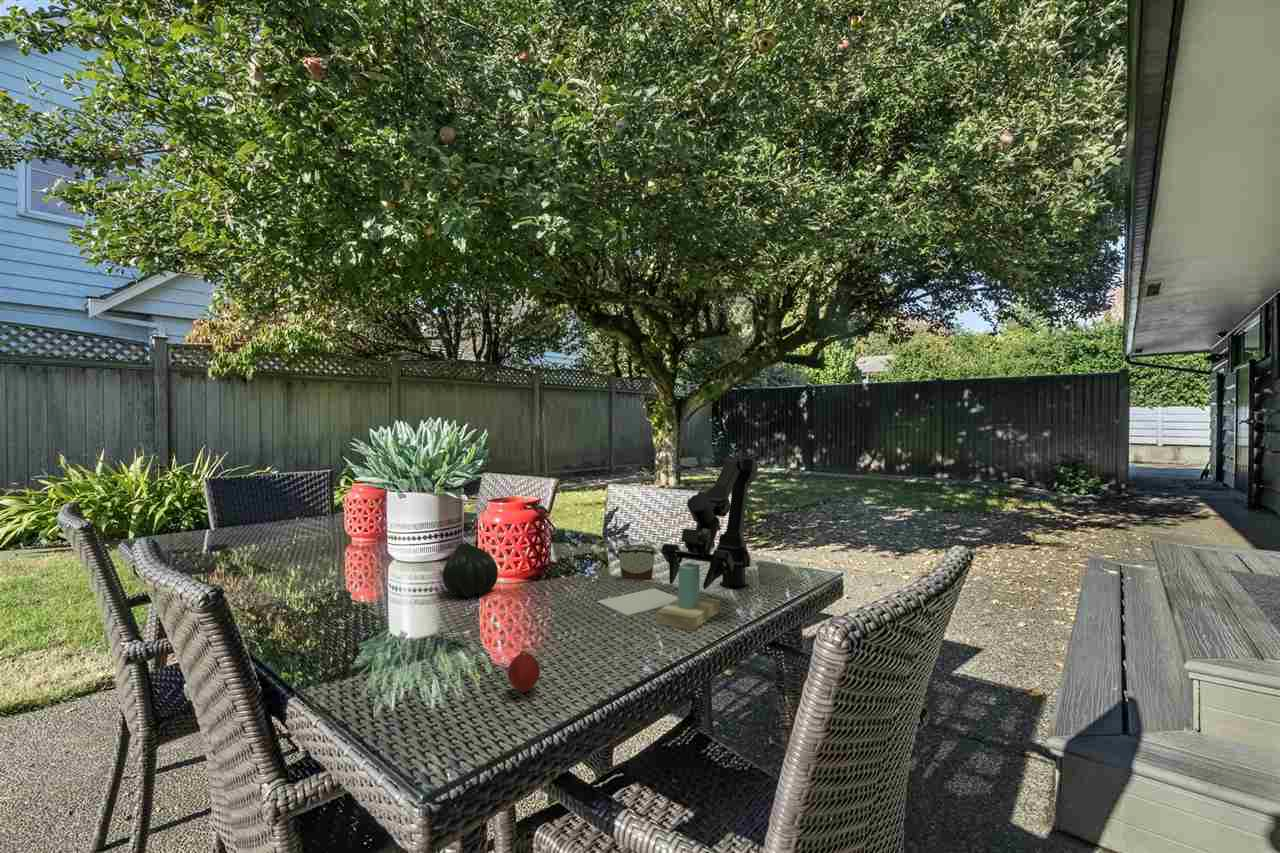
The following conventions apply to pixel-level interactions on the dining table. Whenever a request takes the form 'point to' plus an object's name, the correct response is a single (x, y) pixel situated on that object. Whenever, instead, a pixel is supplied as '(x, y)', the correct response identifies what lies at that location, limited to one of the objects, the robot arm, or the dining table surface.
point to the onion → (523, 671)
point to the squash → (469, 571)
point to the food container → (636, 561)
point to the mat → (639, 602)
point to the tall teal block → (689, 586)
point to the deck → (688, 614)
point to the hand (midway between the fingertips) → (687, 585)
